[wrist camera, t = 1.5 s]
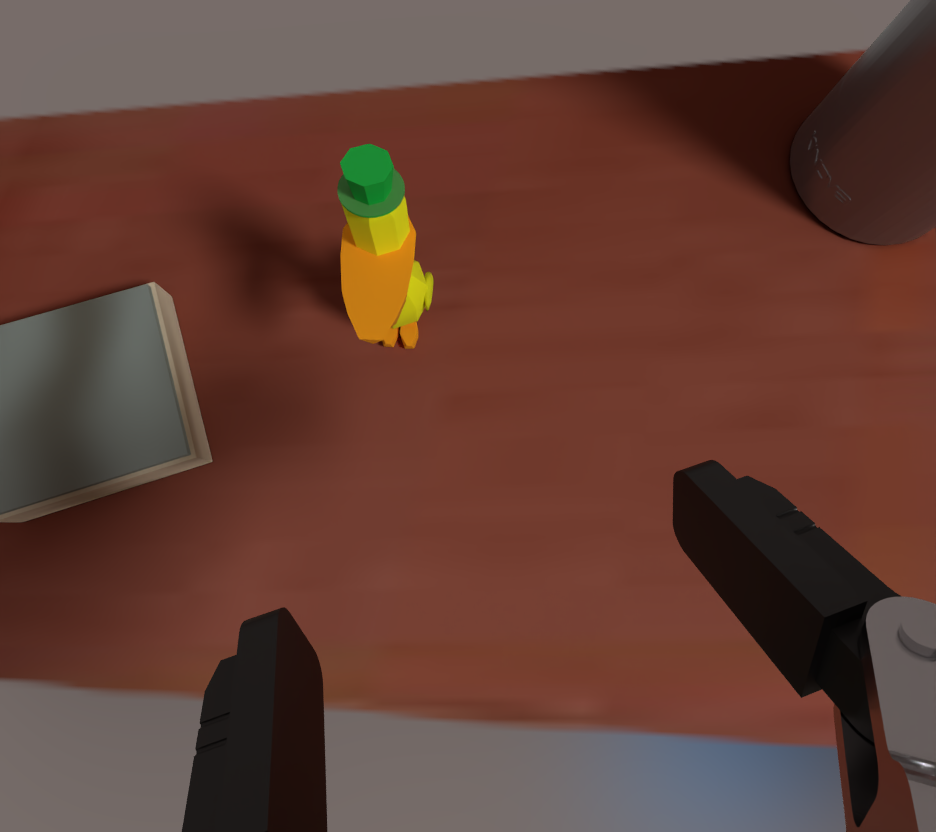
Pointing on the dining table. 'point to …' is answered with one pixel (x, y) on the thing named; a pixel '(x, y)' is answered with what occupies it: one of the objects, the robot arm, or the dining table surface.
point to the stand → (94, 402)
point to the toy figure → (379, 251)
